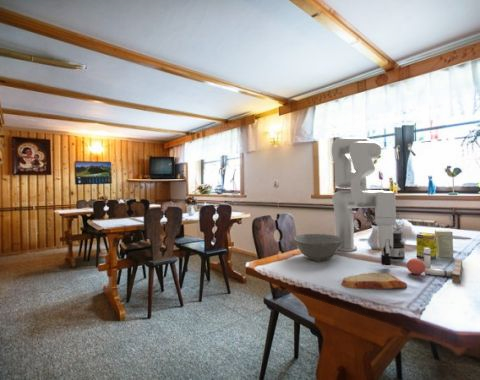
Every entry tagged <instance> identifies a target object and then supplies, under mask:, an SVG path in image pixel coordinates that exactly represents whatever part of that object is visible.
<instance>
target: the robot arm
mask: <svg viewBox="0 0 480 380" xmlns="http://www.w3.org/2000/svg"><path fill="white" fill-rule="evenodd" d="M381 153H382V148H381V145H380V144H379V143H378V142H377V141H376V140H373V139H370V138H368V137H363V136H360V137H359V136H357V137H354V136H352V137H351V136H350V137H347V136H344V137H337V138H335V139H334V140H333V142H332V144H331V155H332V159H333V162H334V163H333V164H334V183H335V186H336V187H337V188H338V189H339V188H340V189H350V190H338V191H336V192H334V193H333V194H332V203H333V210H334V211H333V212H334V236H338V237H340V238H343V241H342V243H341V244H340V246H339V247H338V249H337V251H340V252H341V251H342V252H354V251H357V250H358V246H357V245H355V239H354V237H355V235H354V232H355V231H354V230H355V229H354V227H355V226H354V215H353V213H352V212H351V210H350V209H357V208H358V209H359V208H360V209H361V208H365V209H367V208H374V216H375V217H374V220H375V221H374V224H375V225H377V232H376V233H377V236H376V237H377V238H376V240H377V241H376V245H377V248H378V249H380V250H381V254H380V256H381V257H380V258H381V259H380V260H381V261H380V262H381V265H382V266H391V264H392V263H391V261H392V258H390V249H391V250H392V249H393V231H394V226H396V225H397V219H396V218H397V215H396V214H397V211H396V210H397V208H396V205H397V204H396V203H397V201H396V193H395V192H394V191H391V190H389V191H388V190H381V189H380V190H379V189H377V190H374V189H373V190H372V189H371V190H367V178H366V177H368V176H370V175H371V174H374V172H375V170H376V167H375V164H374V162H373V159H374V160H375V159H378V158H379V157H380V156H381ZM347 154H349V155H350V156H348V155H347ZM349 157H350V158H349ZM352 165H353V169H354V170H352Z"/></svg>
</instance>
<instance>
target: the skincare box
mask: <svg viewBox="0 0 480 380" xmlns="http://www.w3.org/2000/svg"><path fill="white" fill-rule="evenodd" d="M434 235H436V258H449V259H450V258H451V259H452V258H453V259H454V241H453V236H454V235H453V231H451V230H445V229H444V230H443V229H442V230H439V229H436V230H434Z"/></svg>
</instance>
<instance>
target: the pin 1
mask: <svg viewBox="0 0 480 380" xmlns="http://www.w3.org/2000/svg"><path fill="white" fill-rule="evenodd" d="M431 260H432V259H431V253H430V248H424V258H423V263H424V264H425V268H427V269H432V268H431V264H432V263H431Z"/></svg>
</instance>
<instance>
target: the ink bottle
mask: <svg viewBox="0 0 480 380" xmlns="http://www.w3.org/2000/svg"><path fill="white" fill-rule="evenodd" d="M402 233H403V232H402V231H400V230H399V231H397V230H393V249H392V250H391V249H390V258H391V259H392V258H394V260H402V259H405V254H406V253H405V249H406V247H405V243H404V242H403V241H402V240H403V234H402Z"/></svg>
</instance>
